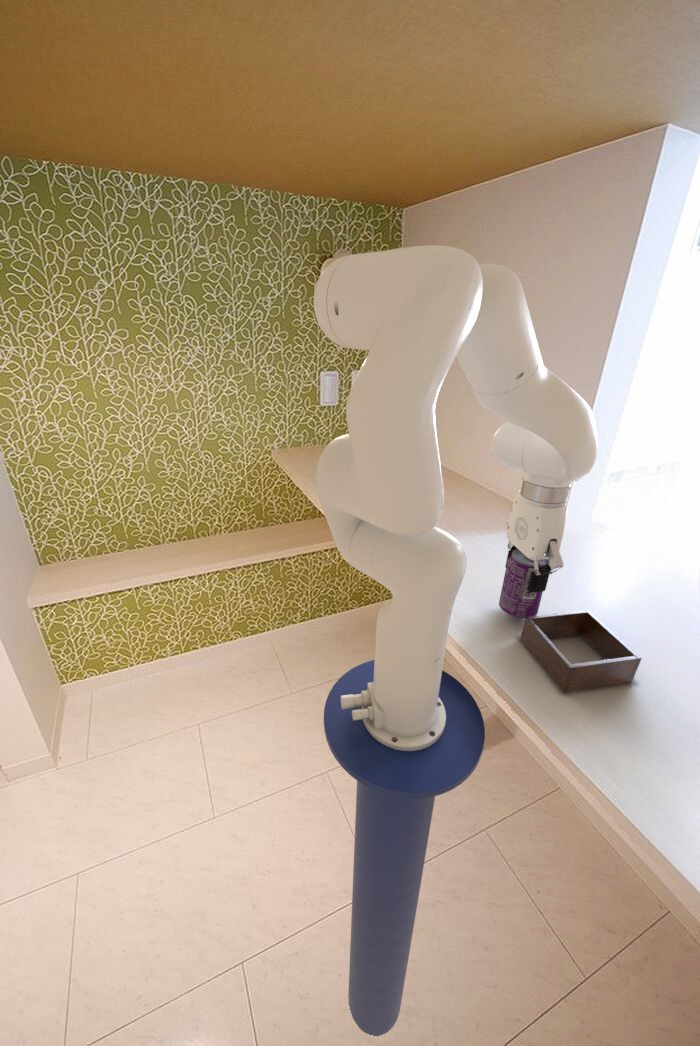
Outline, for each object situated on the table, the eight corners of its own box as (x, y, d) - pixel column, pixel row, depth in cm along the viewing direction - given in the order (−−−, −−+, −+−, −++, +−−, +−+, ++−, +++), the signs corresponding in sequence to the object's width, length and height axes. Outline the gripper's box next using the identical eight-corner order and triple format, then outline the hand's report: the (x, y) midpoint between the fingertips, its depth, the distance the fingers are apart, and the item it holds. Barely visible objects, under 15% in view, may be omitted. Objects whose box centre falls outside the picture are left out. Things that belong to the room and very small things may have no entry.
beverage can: (543, 610, 84) (556, 556, 79) (527, 626, 79) (540, 571, 74) (508, 595, 89) (519, 543, 83) (491, 609, 84) (502, 556, 79)
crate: (562, 692, 67) (570, 668, 65) (519, 639, 78) (525, 616, 76) (632, 682, 69) (642, 658, 67) (581, 631, 80) (588, 609, 78)
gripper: (498, 474, 80) (484, 557, 88) (555, 512, 65) (531, 609, 73) (535, 472, 82) (517, 554, 89) (599, 509, 66) (571, 605, 74)
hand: (524, 578), depth 81 cm, fingers closed on beverage can, 7 cm apart
